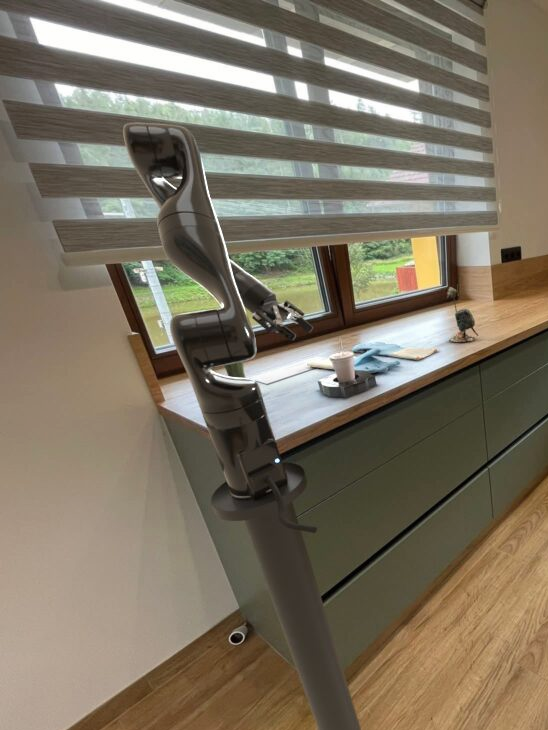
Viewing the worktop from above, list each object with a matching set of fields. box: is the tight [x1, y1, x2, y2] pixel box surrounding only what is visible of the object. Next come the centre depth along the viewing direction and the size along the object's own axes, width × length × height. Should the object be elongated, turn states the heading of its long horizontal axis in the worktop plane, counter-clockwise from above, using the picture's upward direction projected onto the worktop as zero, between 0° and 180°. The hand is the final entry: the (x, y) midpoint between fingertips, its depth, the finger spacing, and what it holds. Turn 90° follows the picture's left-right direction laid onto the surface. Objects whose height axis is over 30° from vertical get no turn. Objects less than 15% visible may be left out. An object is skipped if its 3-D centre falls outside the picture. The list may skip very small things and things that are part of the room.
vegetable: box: [223, 361, 247, 378], centre depth 108 cm, size 4×4×20 cm
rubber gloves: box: [307, 341, 438, 374], centre depth 141 cm, size 27×33×6 cm
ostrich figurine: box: [446, 286, 480, 343], centre depth 154 cm, size 8×11×20 cm
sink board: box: [317, 370, 378, 399], centre depth 118 cm, size 13×13×3 cm
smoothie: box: [328, 338, 355, 383], centre depth 116 cm, size 6×6×14 cm
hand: (303, 334), depth 114 cm, fingers open, 8 cm apart
